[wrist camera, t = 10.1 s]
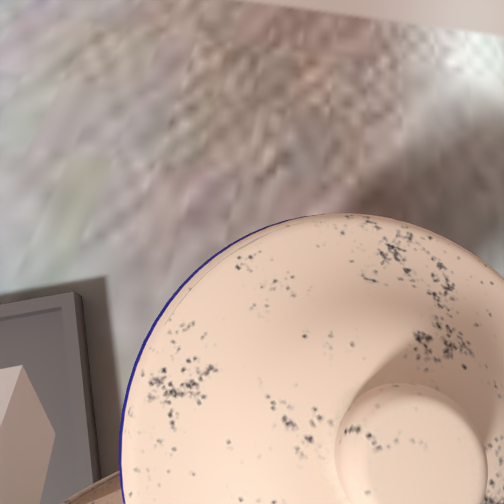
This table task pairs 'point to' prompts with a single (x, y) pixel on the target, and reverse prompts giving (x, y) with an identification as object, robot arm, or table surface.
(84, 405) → the tea tray
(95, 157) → the table surface
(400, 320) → the teacup with lid
